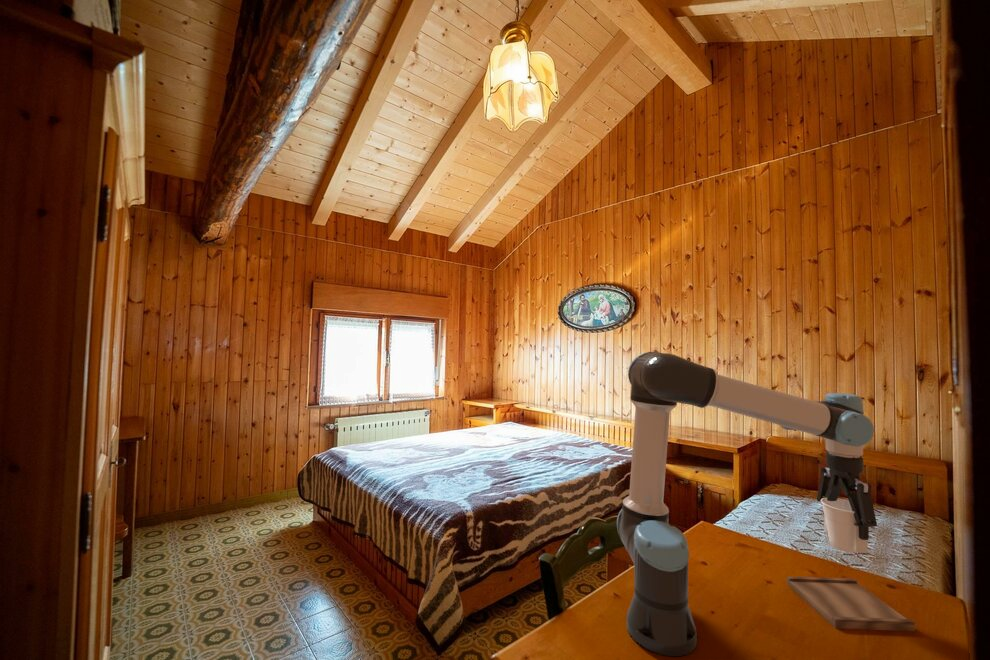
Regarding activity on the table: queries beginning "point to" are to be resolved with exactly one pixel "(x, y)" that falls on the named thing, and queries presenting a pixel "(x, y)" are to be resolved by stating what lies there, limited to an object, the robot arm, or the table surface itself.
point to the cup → (840, 523)
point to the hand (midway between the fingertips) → (844, 541)
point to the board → (848, 604)
